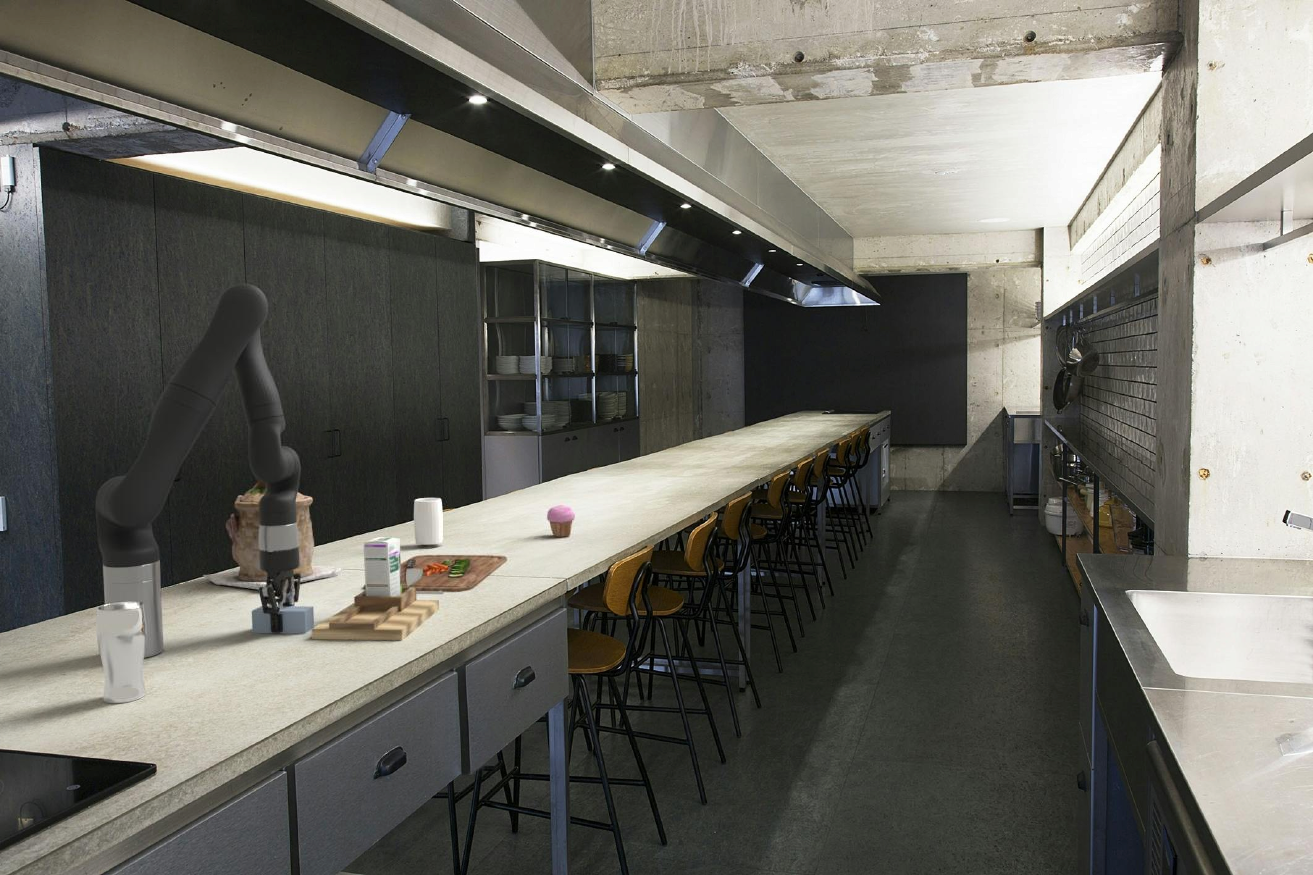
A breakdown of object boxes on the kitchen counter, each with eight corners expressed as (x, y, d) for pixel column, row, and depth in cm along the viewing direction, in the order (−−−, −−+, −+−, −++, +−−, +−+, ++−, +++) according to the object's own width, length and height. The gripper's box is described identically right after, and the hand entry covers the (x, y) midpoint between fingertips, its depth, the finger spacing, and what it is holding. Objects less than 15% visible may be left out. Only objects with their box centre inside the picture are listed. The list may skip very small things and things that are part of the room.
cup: (449, 545, 286) (448, 498, 285) (429, 549, 279) (427, 502, 278) (429, 542, 290) (428, 496, 289) (408, 547, 283) (407, 500, 282)
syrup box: (390, 609, 200) (389, 541, 199) (365, 608, 201) (363, 540, 200) (402, 602, 206) (401, 536, 205) (377, 601, 207) (375, 536, 206)
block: (314, 628, 194) (313, 606, 193) (305, 633, 190) (304, 611, 189) (262, 627, 195) (261, 606, 194) (252, 632, 191) (251, 610, 190)
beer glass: (157, 689, 156) (153, 600, 155) (135, 704, 149) (131, 610, 148) (114, 690, 156) (110, 600, 155) (90, 705, 149) (86, 611, 148)
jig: (401, 640, 184) (401, 614, 184) (312, 639, 185) (311, 613, 185) (439, 609, 208) (438, 586, 208) (359, 608, 209) (358, 586, 209)
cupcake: (579, 537, 298) (579, 505, 297) (554, 539, 294) (553, 507, 293) (567, 533, 306) (567, 502, 305) (542, 535, 301) (542, 504, 301)
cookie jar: (345, 574, 246) (342, 452, 243) (265, 594, 224) (260, 460, 222) (281, 565, 258) (277, 448, 256) (199, 583, 236) (194, 456, 234)
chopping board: (465, 596, 222) (465, 583, 222) (355, 595, 225) (355, 582, 224) (511, 558, 267) (511, 548, 267) (419, 557, 269) (419, 547, 269)
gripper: (277, 539, 198) (280, 619, 199) (243, 552, 184) (246, 638, 185) (312, 539, 198) (315, 620, 199) (280, 552, 184) (284, 639, 185)
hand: (282, 628), depth 192 cm, fingers closed on block, 4 cm apart
